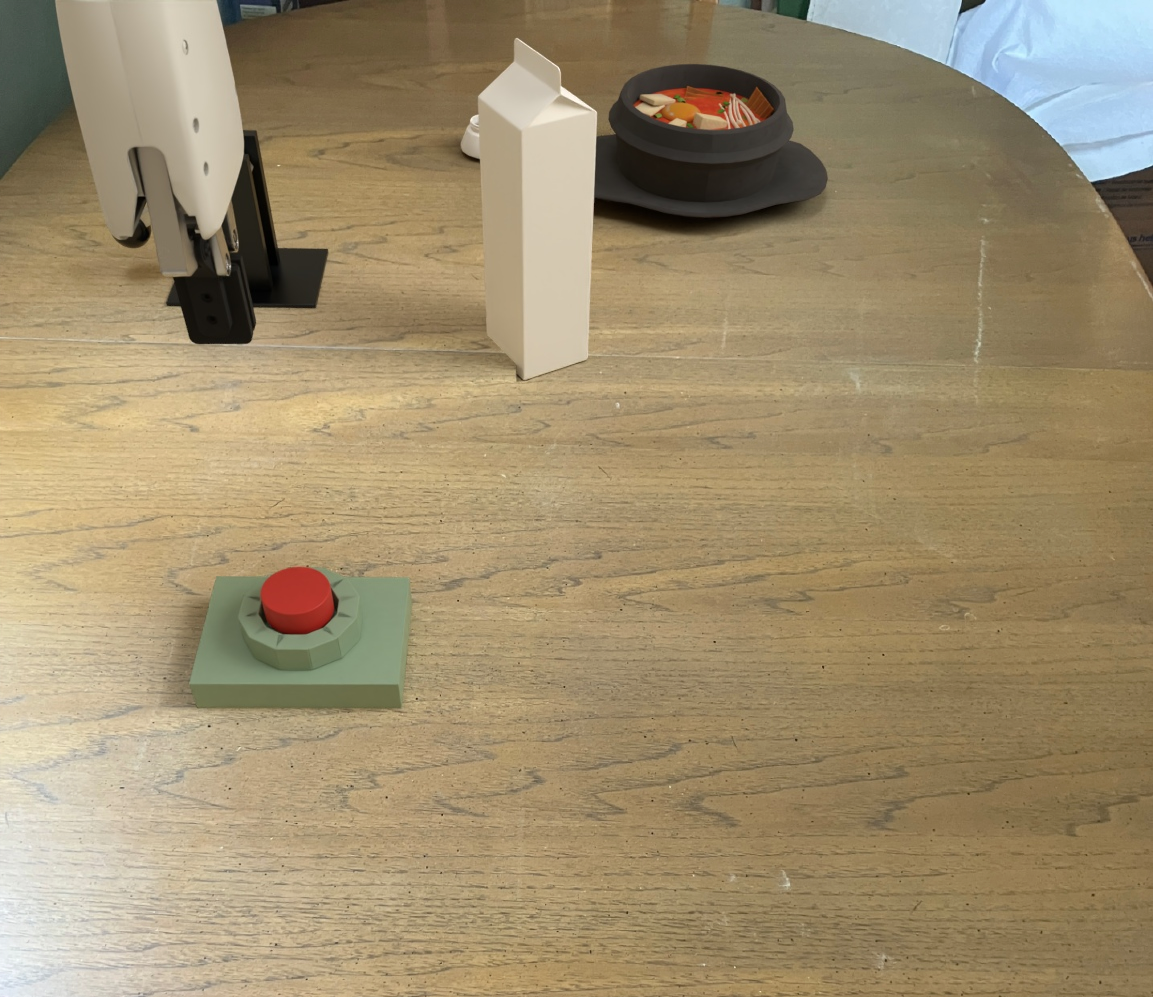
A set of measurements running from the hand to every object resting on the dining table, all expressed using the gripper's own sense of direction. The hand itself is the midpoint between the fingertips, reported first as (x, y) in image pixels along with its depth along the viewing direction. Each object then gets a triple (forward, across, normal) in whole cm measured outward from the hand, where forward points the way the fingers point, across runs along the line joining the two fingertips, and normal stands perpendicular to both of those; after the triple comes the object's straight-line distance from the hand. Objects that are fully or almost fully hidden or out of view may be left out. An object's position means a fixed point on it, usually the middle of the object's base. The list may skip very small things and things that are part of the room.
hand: (224, 334), depth 60 cm
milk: (+18, -27, +16) cm, 37 cm away
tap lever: (+12, -37, -11) cm, 40 cm away
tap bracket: (+18, -37, -7) cm, 41 cm away
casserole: (+18, -55, +32) cm, 66 cm away
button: (+15, +6, +2) cm, 16 cm away
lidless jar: (+18, -62, +12) cm, 66 cm away
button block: (+18, +6, +2) cm, 19 cm away
